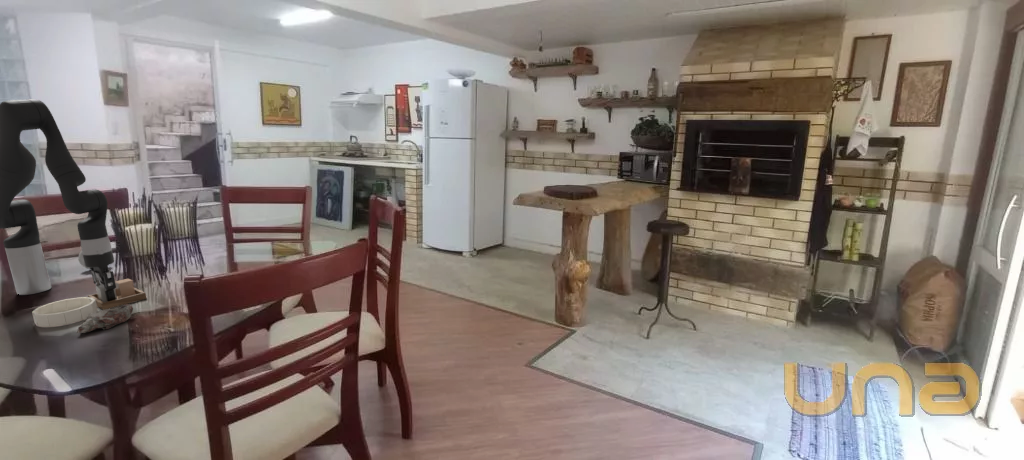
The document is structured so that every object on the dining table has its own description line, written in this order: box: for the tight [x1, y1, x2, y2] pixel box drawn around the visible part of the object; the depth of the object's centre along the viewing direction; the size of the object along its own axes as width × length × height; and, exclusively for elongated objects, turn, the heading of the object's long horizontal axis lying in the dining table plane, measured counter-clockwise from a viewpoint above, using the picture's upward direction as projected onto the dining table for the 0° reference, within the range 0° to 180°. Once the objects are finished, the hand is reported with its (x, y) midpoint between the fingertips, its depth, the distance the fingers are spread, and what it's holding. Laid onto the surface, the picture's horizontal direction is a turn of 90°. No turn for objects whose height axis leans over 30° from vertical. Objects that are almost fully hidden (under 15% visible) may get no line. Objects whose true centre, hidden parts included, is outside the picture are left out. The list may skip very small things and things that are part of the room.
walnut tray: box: [87, 286, 147, 310], centre depth 168 cm, size 14×12×2 cm
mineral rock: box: [76, 303, 134, 334], centre depth 148 cm, size 15×8×4 cm, turn 144°
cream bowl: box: [31, 296, 99, 328], centre depth 154 cm, size 14×14×4 cm
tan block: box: [115, 278, 136, 299], centre depth 170 cm, size 4×4×6 cm
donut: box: [78, 250, 91, 270], centre depth 204 cm, size 10×3×10 cm, turn 140°
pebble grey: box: [95, 284, 117, 302], centre depth 166 cm, size 4×4×6 cm
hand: (107, 298), depth 166 cm, fingers open, 6 cm apart
